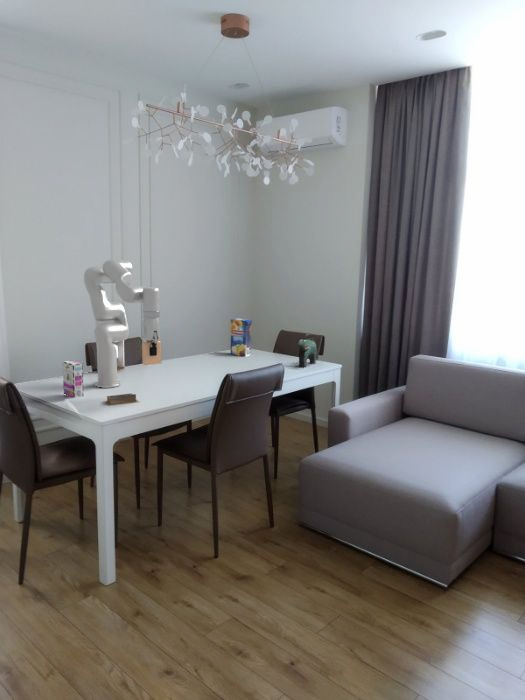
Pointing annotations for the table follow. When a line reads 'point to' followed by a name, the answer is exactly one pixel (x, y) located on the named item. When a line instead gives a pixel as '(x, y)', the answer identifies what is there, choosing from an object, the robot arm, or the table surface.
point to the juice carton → (241, 337)
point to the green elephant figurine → (307, 351)
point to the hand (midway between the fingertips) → (151, 354)
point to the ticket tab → (146, 354)
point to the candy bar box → (73, 378)
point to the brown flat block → (121, 399)
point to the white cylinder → (119, 348)
